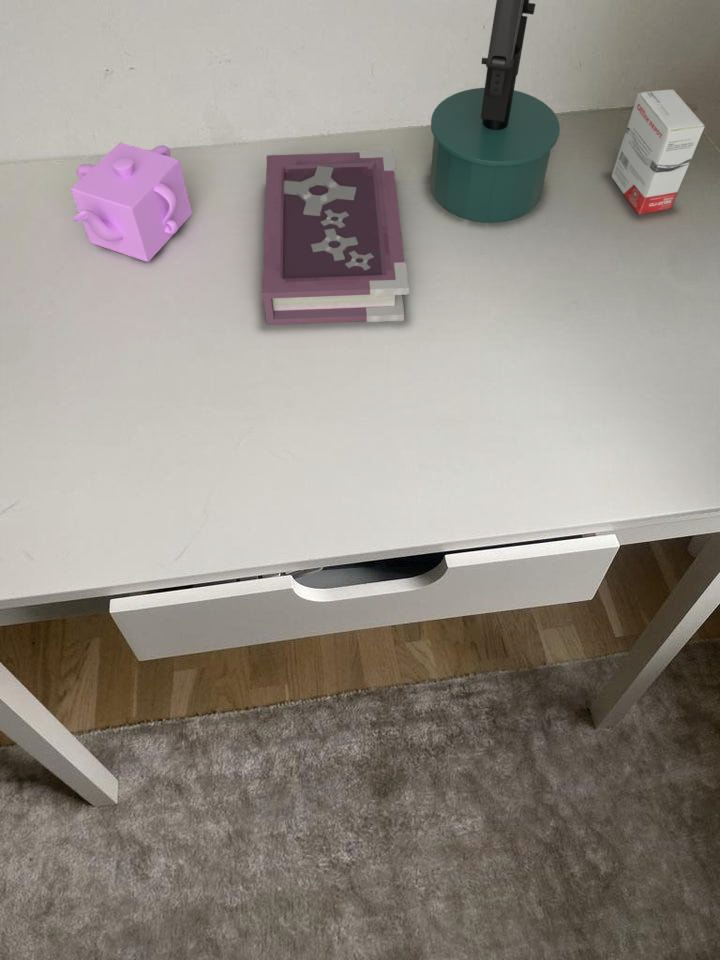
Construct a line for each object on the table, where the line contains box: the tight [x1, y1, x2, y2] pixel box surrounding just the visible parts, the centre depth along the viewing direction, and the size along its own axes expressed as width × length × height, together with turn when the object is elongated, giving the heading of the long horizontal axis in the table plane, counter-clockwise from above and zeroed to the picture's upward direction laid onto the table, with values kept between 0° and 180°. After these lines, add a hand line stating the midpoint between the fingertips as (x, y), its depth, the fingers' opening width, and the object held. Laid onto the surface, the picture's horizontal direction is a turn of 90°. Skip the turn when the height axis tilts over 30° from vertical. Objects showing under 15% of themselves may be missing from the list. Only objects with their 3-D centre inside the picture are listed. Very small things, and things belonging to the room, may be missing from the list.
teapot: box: [70, 141, 193, 263], centre depth 92 cm, size 18×14×10 cm
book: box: [261, 149, 410, 326], centre depth 93 cm, size 25×16×5 cm, turn 3°
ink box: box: [611, 88, 706, 215], centre depth 96 cm, size 8×5×12 cm, turn 14°
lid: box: [430, 44, 561, 166], centre depth 91 cm, size 16×16×10 cm
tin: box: [429, 137, 552, 224], centre depth 98 cm, size 15×15×8 cm
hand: (499, 94), depth 91 cm, fingers open, 9 cm apart
